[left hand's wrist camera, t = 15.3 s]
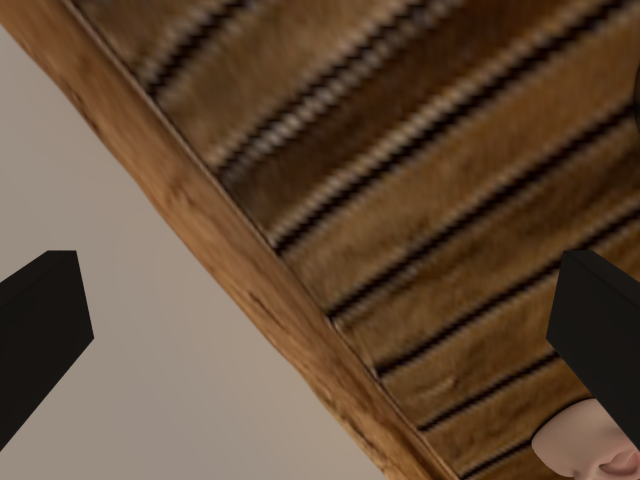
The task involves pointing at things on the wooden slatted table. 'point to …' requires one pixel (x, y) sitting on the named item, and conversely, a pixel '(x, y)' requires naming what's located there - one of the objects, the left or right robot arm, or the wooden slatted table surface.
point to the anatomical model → (587, 445)
